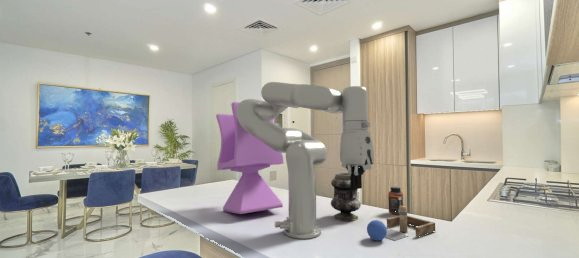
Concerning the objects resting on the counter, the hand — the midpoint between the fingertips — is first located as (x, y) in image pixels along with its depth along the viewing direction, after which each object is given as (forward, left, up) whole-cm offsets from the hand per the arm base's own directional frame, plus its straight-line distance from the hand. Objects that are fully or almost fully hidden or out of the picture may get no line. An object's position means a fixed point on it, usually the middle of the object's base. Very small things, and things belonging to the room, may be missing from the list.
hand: (356, 188), depth 77 cm
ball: (+8, +3, -14) cm, 17 cm away
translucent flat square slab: (+16, +6, -17) cm, 24 cm away
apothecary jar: (+9, +28, -17) cm, 34 cm away
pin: (+22, +8, -17) cm, 29 cm away
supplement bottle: (+33, +29, -17) cm, 47 cm away
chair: (-28, +44, -16) cm, 54 cm away
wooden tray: (+25, +9, -17) cm, 32 cm away
